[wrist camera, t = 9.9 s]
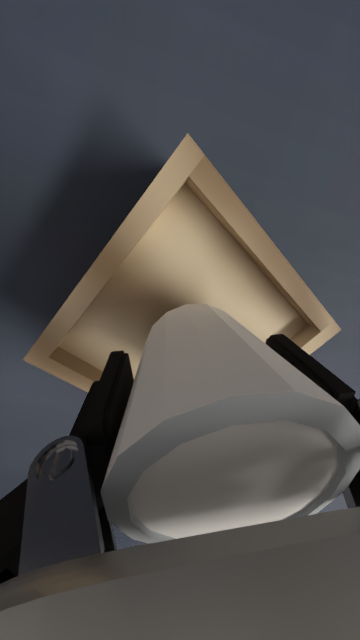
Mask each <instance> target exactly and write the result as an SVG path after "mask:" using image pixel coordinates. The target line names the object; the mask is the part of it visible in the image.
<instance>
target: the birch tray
mask: <svg viewBox="0 0 360 640" xmlns="http://www.w3.org/2000/svg"><path fill="white" fill-rule="evenodd" d="M185 304H208V305H210V306H213V307H215V308H218V309H220V310H223V311H225V312H226V313H227V314H229V315H230V316H231V317H232V318H234V319H235V320H236V321H237V322H239V323H240V324H241V325H242V326H244V327H245V328H246V329H247V330H249V331H250V332H251V333H252V334H254V335H255V336H256V337H258V338H259V339H260V340H261V341H263V342H264V343H265V344H266V339H267V338H269V337H270V335H275V334H284V335H285V336H286V337H288V338H289V339H290V340H291V341H293V342H294V343H295V344H296V345H298V346H299V347H300V348H301V349H303V350H304V351H305V352H306V353H308V354H309V355H310V354H311V353H312V352H314V351H315V350H316V349H318V348H319V347H320V346H321V345H323V344H324V343H325V342H326V341H328V340H329V339H330V338H331V337H333V336H334V335H335V334H336V333H338V332H339V331H340V330H341V329H340V328H339V326H338V325H337V324H336V322H335V321H334V320H333V319H332V317H331V316H330V315H329V313H328V312H327V311H326V310H325V308H324V307H323V306H322V305H321V303H320V302H319V301H318V299H317V298H316V297H315V296H314V294H313V293H312V292H311V290H310V289H309V288H308V287H307V285H306V284H305V283H304V281H303V280H302V279H301V278H300V276H299V275H298V274H297V273H296V271H295V270H294V269H293V267H292V266H291V265H290V264H289V262H288V261H287V260H286V258H285V257H284V256H283V255H282V253H281V252H280V251H279V249H278V248H277V247H276V246H275V244H274V243H273V242H272V241H271V239H270V238H269V237H268V235H267V234H266V233H265V232H264V230H263V229H262V228H261V226H260V225H259V224H258V223H257V221H256V220H255V219H254V217H253V216H252V215H251V214H250V212H249V211H248V210H247V208H246V207H245V206H244V205H243V203H242V202H241V201H240V200H239V198H238V197H237V196H236V194H235V193H234V192H233V191H232V189H231V188H230V187H229V185H228V184H227V183H226V182H225V180H224V179H223V178H222V176H221V175H220V174H219V173H218V171H217V170H216V169H215V168H214V166H213V165H212V164H211V162H210V161H209V160H208V159H207V157H206V156H205V155H204V153H203V152H202V151H201V150H200V148H199V147H198V146H197V144H196V143H195V142H194V141H193V139H192V138H191V137H190V136H189V134H187V135H186V136H185V138H184V139H183V140H182V142H181V143H180V145H179V146H178V147H177V149H176V150H175V151H174V153H173V154H172V156H171V157H170V158H169V160H168V161H167V162H166V164H165V165H164V167H163V168H162V169H161V171H160V172H159V173H158V175H157V176H156V178H155V179H154V180H153V182H152V183H151V184H150V186H149V187H148V189H147V190H146V191H145V193H144V194H143V195H142V197H141V198H140V200H139V201H138V202H137V204H136V205H135V206H134V208H133V209H132V210H131V212H130V213H129V215H128V216H127V217H126V219H125V220H124V221H123V223H122V224H121V226H120V227H119V228H118V230H117V231H116V232H115V234H114V235H113V237H112V238H111V239H110V241H109V242H108V243H107V245H106V246H105V248H104V249H103V250H102V252H101V253H100V254H99V256H98V257H97V259H96V260H95V261H94V263H93V264H92V265H91V267H90V268H89V270H88V271H87V272H86V274H85V275H84V276H83V278H82V279H81V281H80V282H79V283H78V285H77V286H76V287H75V289H74V290H73V292H72V293H71V294H70V296H69V297H68V298H67V300H66V301H65V303H64V304H63V305H62V307H61V308H60V309H59V311H58V312H57V314H56V315H55V316H54V318H53V319H52V320H51V322H50V323H49V325H48V326H47V327H46V329H45V330H44V331H43V333H42V334H41V336H40V337H39V338H38V340H37V341H36V342H35V344H34V345H33V347H32V348H31V349H30V351H29V352H28V353H27V355H26V356H25V358H24V359H23V360H24V361H26V362H28V363H30V364H32V365H34V366H36V367H38V368H40V369H42V370H44V371H46V372H48V373H50V374H52V375H54V376H56V377H58V378H60V379H62V380H64V381H66V382H68V383H70V384H72V385H74V386H76V387H78V388H80V389H82V390H84V391H86V392H89V390H90V387H91V385H92V383H93V382H94V381H99V380H100V378H101V375H102V373H103V370H104V368H105V365H106V363H107V360H108V358H109V355H110V353H111V352H112V351H122V350H123V351H124V353H128V354H129V359H130V364H131V369H132V374H133V378H134V379H135V376H136V372H137V369H138V366H139V363H140V359H141V356H142V353H143V349H144V346H145V343H146V340H147V338H148V335H149V333H150V331H151V328H152V326H153V325H154V324H155V323H156V322H157V321H158V320H159V319H160V318H161V317H162V316H163V315H164V314H165V313H166V312H168V311H171V310H173V309H176V308H178V307H181V306H183V305H185Z"/></svg>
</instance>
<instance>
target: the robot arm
mask: <svg viewBox="0 0 360 640" xmlns="http://www.w3.org/2000/svg"><path fill="white" fill-rule="evenodd" d="M266 345H268V346H269V347H270V348H271V349H273V350H274V351H275V352H276V353H278V354H279V355H280V356H281V357H283V358H284V359H285V360H286V361H288V362H289V363H290V364H291V365H293V366H294V367H295V368H296V369H298V370H299V371H300V372H301V373H303V374H304V375H305V376H307V377H308V378H309V379H310V380H312V381H313V382H314V383H315V384H317V385H318V386H319V387H320V388H322V389H323V390H324V391H325V392H327V393H328V394H329V395H330V396H332V397H333V398H334V399H335V400H337V401H338V402H339V403H340V404H342V405H343V406H344V407H345V408H346V409H347V410H348V412H349V413H350V414H351V415H352V416H353V418H354V419H355V420H356V421H357V423H358V424H359V425H360V399H359V400H358V399H356V398H355V397H354V395H355V391H354V390H353V389H351V388H350V387H349V386H348V385H346V384H345V383H344V382H343V381H341V380H340V379H339V378H338V377H336V376H335V375H334V374H333V373H331V372H330V371H329V370H328V369H326V368H325V367H324V366H323V365H321V364H320V363H319V362H318V361H316V360H315V359H314V358H313V357H311V356H310V355H309V354H308V353H306V352H305V351H304V350H303V349H301V348H300V347H299V346H298V345H296V344H295V343H294V342H293V341H291V340H290V339H289V338H288V337H286V336H285V335H284V334H275V335H270V337H269V338H267V339H266ZM133 382H134V378H133V374H132V369H131V364H130V359H129V354H128V353H124V351H123V350H122V351H112V352H111V353H110V355H109V358H108V360H107V363H106V365H105V368H104V370H103V373H102V375H101V378H100V380H99V381H94V382H93V383H92V385H91V387H90V390H89V392H88V394H87V396H86V399H85V401H84V403H83V405H82V408H81V410H80V412H79V414H78V417H77V419H76V421H75V423H74V426H73V428H72V430H71V432H70V435H69V436H64V437H61V438H59V439H56V440H55V441H53V442H51V443H50V444H48V445H47V446H46V447H45V448H44V449H42V450H41V451H40V453H39V454H38V455H37V456H36V457H35V459H34V460H33V462H32V464H31V466H30V469H29V473H28V479H26V480H25V481H24V482H23V483H21V484H20V485H19V486H18V487H16V488H15V489H14V490H13V491H11V492H10V493H9V494H7V495H6V496H5V497H4V498H2V499H1V500H0V640H360V469H359V471H358V472H357V474H356V475H355V477H354V478H353V480H352V481H351V483H350V484H349V485H348V487H347V488H346V490H345V491H344V492H343V494H344V497H345V501H346V504H347V507H348V509H342V510H336V511H330V512H325V513H319V514H313V515H307V516H302V517H296V518H290V519H284V520H279V521H273V522H267V523H262V524H256V525H250V526H245V527H239V528H233V529H228V530H222V531H217V532H211V533H206V534H200V535H195V536H189V537H184V538H178V539H173V540H167V541H161V542H156V543H150V544H145V545H139V546H134V547H129V548H125V549H120V550H117V547H116V543H115V538H114V533H113V529H112V524H111V522H109V521H108V518H107V514H106V511H105V507H104V503H103V500H102V496H101V489H102V485H103V482H104V479H105V475H106V472H107V469H108V465H109V462H110V459H111V455H112V452H113V449H114V446H115V442H116V439H117V436H118V432H119V429H120V426H121V422H122V419H123V416H124V412H125V409H126V406H127V402H128V399H129V396H130V392H131V389H132V386H133Z"/></svg>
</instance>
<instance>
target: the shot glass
mask: <svg viewBox="0 0 360 640" xmlns="http://www.w3.org/2000/svg"><path fill="white" fill-rule="evenodd" d="M359 469H360V425H359V424H358V423H357V421H356V420H355V419H354V418H353V416H352V415H351V414H350V413H349V412H348V410H347V409H346V408H345V407H344V406H343V405H342V404H340V403H339V402H338V401H337V400H335V399H334V398H333V397H332V396H330V395H329V394H328V393H327V392H325V391H324V390H323V389H322V388H320V387H319V386H318V385H317V384H315V383H314V382H313V381H312V380H310V379H309V378H308V377H307V376H305V375H304V374H303V373H301V372H300V371H299V370H298V369H296V368H295V367H294V366H293V365H291V364H290V363H289V362H288V361H286V360H285V359H284V358H283V357H281V356H280V355H279V354H278V353H276V352H275V351H274V350H273V349H271V348H270V347H269V346H268V345H266V344H265V343H264V342H263V341H261V340H260V339H259V338H258V337H256V336H255V335H254V334H252V333H251V332H250V331H249V330H247V329H246V328H245V327H244V326H242V325H241V324H240V323H239V322H237V321H236V320H235V319H234V318H232V317H231V316H230V315H229V314H227V313H226V312H225V311H223V310H220V309H218V308H215V307H213V306H210V305H208V304H185V305H183V306H181V307H178V308H176V309H173V310H171V311H168V312H166V313H165V314H164V315H163V316H162V317H161V318H160V319H159V320H158V321H157V322H156V323H155V324H154V325H153V326H152V328H151V331H150V333H149V335H148V338H147V340H146V343H145V346H144V349H143V353H142V356H141V359H140V363H139V366H138V369H137V372H136V376H135V379H134V382H133V386H132V389H131V392H130V396H129V399H128V402H127V406H126V409H125V412H124V416H123V419H122V422H121V426H120V429H119V432H118V436H117V439H116V442H115V446H114V449H113V452H112V455H111V459H110V462H109V465H108V469H107V472H106V475H105V479H104V482H103V485H102V489H101V496H102V500H103V503H104V507H105V511H106V514H107V518H108V521H109V522H111V523H112V524H113V525H115V526H116V527H117V528H119V529H120V530H121V531H122V532H124V533H125V534H126V535H128V536H129V537H130V538H132V539H134V540H137V541H141V542H145V543H148V544H150V543H156V542H161V541H167V540H173V539H178V538H184V537H189V536H195V535H200V534H206V533H211V532H217V531H222V530H228V529H233V528H239V527H245V526H250V525H256V524H262V523H267V522H273V521H279V520H284V519H290V518H296V517H302V516H307V515H313V514H316V513H318V512H319V511H320V510H321V509H323V508H324V507H325V506H326V505H328V504H329V503H330V502H331V501H333V500H334V499H335V498H336V497H338V496H339V495H340V494H341V493H343V492H344V491H345V490H346V488H347V487H348V485H349V484H350V483H351V481H352V480H353V478H354V477H355V475H356V474H357V472H358V471H359Z"/></svg>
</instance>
